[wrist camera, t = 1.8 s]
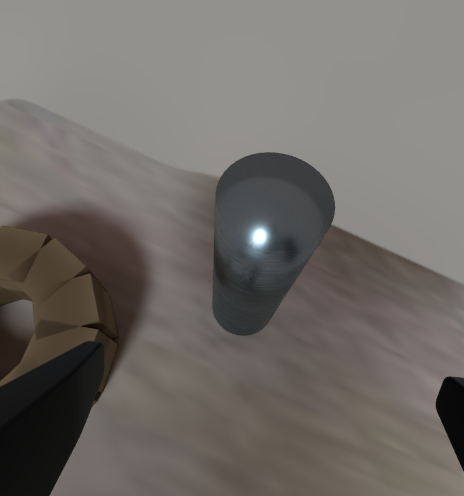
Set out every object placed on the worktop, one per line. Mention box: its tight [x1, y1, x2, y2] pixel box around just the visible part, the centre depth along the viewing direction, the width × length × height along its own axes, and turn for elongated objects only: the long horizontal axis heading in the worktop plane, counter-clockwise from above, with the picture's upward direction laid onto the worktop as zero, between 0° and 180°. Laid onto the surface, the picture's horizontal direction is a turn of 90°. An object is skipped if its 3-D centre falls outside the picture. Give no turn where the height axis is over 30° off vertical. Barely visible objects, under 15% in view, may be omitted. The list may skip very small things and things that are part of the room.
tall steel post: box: [212, 152, 335, 336], centre depth 16 cm, size 4×4×12 cm
